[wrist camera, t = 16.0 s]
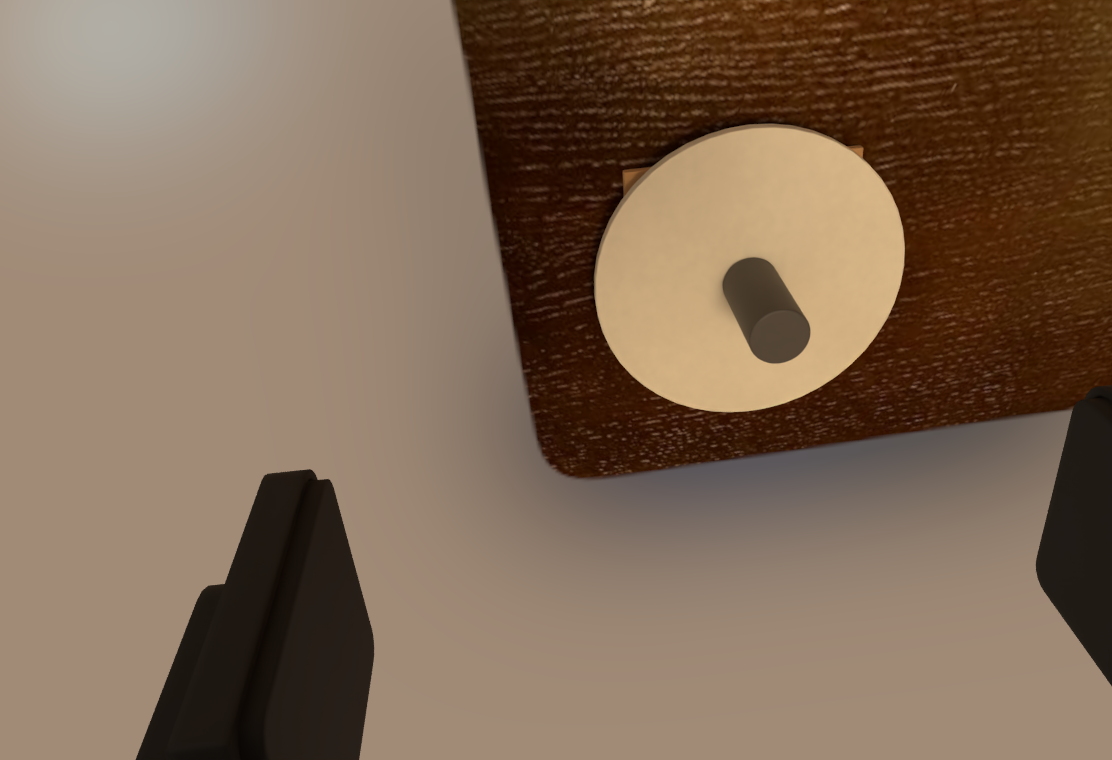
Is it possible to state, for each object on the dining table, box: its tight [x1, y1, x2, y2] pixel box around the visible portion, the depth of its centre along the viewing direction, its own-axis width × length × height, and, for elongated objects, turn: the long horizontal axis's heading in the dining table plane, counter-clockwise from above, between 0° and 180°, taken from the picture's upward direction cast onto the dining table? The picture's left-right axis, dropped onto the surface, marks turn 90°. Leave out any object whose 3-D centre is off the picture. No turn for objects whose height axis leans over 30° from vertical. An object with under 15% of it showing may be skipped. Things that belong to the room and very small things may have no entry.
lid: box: [594, 124, 905, 412], centre depth 38 cm, size 13×13×6 cm
